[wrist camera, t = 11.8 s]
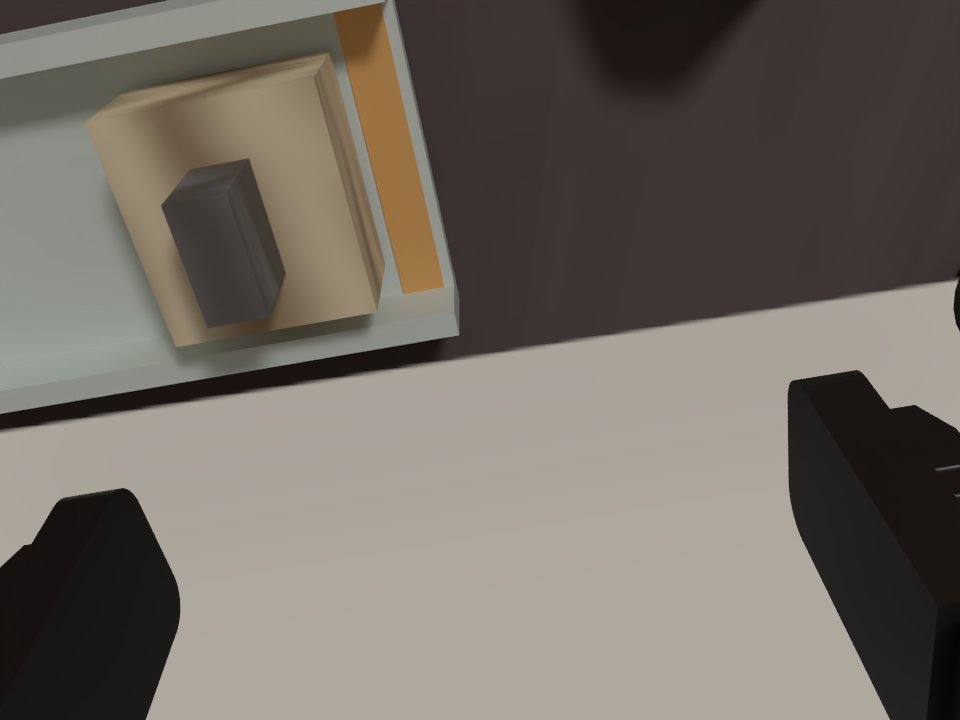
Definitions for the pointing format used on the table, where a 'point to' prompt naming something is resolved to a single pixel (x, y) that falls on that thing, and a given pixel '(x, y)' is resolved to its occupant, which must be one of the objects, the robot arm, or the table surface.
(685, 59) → the table surface
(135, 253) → the bay
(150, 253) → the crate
